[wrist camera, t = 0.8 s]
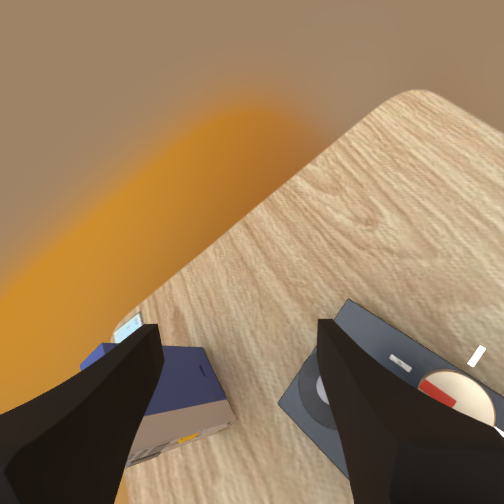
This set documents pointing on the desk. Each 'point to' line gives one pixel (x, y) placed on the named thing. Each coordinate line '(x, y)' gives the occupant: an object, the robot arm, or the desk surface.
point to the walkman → (177, 403)
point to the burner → (315, 393)
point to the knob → (459, 394)
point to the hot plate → (391, 357)
